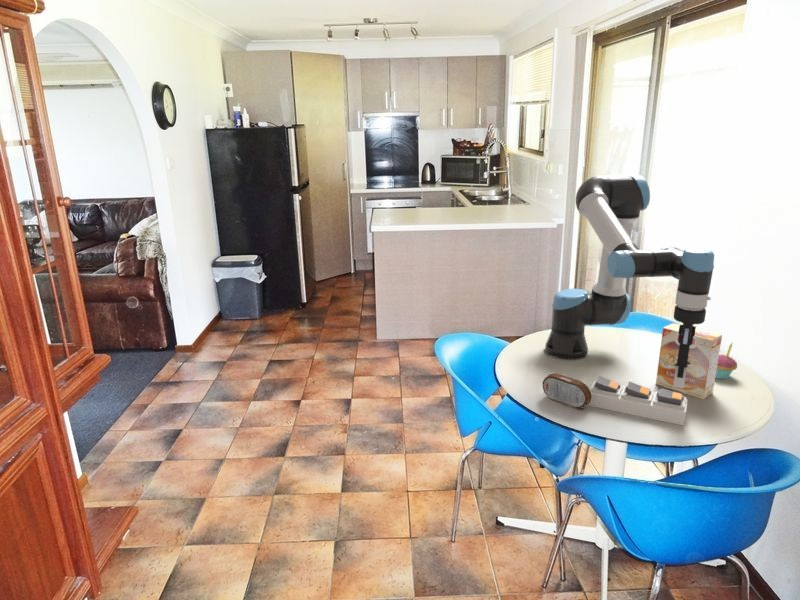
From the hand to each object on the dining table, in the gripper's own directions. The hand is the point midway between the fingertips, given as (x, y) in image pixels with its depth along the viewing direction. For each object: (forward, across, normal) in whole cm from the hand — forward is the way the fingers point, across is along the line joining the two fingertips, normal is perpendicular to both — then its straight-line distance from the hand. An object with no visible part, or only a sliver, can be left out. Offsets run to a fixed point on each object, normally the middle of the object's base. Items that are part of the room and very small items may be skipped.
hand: (678, 386), depth 155 cm
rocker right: (+4, 0, +2) cm, 4 cm away
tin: (+10, -7, +29) cm, 32 cm away
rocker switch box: (+9, 0, +11) cm, 15 cm away
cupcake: (+10, +36, -11) cm, 39 cm away
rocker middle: (+4, 0, +10) cm, 11 cm away
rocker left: (+4, 0, +19) cm, 19 cm away
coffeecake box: (+10, +20, -1) cm, 23 cm away
